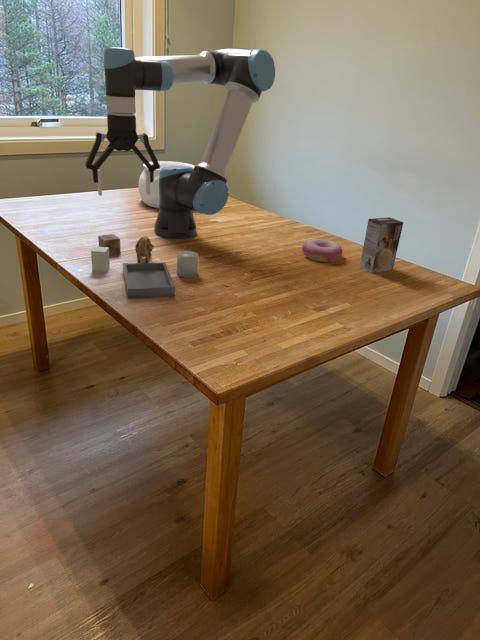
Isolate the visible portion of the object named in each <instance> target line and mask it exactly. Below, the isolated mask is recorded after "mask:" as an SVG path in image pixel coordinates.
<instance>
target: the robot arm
mask: <svg viewBox="0 0 480 640" xmlns="http://www.w3.org/2000/svg"><path fill="white" fill-rule="evenodd" d="M103 54H104V56H103V61H104V62H103V69H104V81H105V85H104V86H105V95H106V96H105V99H106V112H107V115H106V121H107V123H106V124H107V133H103V132H100V131H96V132H95V140H94V143H93V145H92V148H91V150H90V153H89V155H88V157H87V159H86V161H85V164H84V165H85V168H86V169H88V170H91V171H92V180H93V183H95V184H97V194H98V196H103V192H102V191H103V189H102V176H101V175H102V173H101V170H100V168H101V167H102V165H103V163H105V161H107V159H108V158H109V156H110V155H111V154H112V153H113V152H114V150H115V151H118V152H121V151H124V152H130V151H131V150H132V152H134V153H135V155H136V156H137V157H138V158H139V159H140V160H141V162H142V163H143V164H145V165H146V167H147V168H148V170H146V193H147V195H150V182H153V181H154V170H156V169H159V168H160V165H159V163H158V161H159V160H158V159H157V157H156V155H155V153H154V151H153V148H152V146H151V144H150V142H149V135H148V134H146V133H145V132H144V133H142V134H138V132H137V116H136V115H134V114H136V112H137V110H136V109H137V107H136V105H137V104H136V91H153V92H154V91H156V92H164V91H165V92H166V91H168V90H170V89H171V88H172V87H173V84H181V83H195V82H200V83H202V84H204V85H210V84H211V85H219V86H223V87H226V91H227V93H226V96H225V99H224V101H223V104H222V107H221V109H220V112H219V114H218V117H217V119H216V123H215V125H214V127H213V130H212V132H211V136H210V138H209V140H208V143H207V146H206V148H205V151H204V153H203V156H202V159H201V160H200V162H199V163H198V164H195V165H194V169H193V167H190V166H172V167H164V168H162V169H161V170H160V174H159V208H158V213H157V216H156V219H155V223H154V226H153V227H154V233H155V234H156V235H158V236H161V237H165V238H170V239H185V238H191V237H193V236H194V237H195V235H196V234H197V225H196V221H195V220H196V219H195V217H194V214H193V211H194V212H197V213H199V214H200V215H207V216H211V215H215V214H217V213H220V212H221V211H222V210H223V208H224V207H225V206H226V204H227V202H228V200H229V194H230V193H229V188H228V186H227V182H228V178H227V175H226V172H227V169H228V167H229V164H230V162H231V159H232V156H233V154H234V151H235V149H236V146H237V145H238V140H239V138H240V136H241V134H242V131H243V128H244V126H245V123H246V120H247V118H248V115H249V113H250V110H251V108H252V104H254V103H257V102H258V101H259V99H260V97H261V95H262V92H265V91H268V90H269V89H271V88H272V87H273V86H274V85H273V84H274V82H275V78H276V66H275V61H274V59H273V56H272V55H271V53H270V52H269V51H268V50H267V49H266V50H265V49H262V48H257V47H253V48H248V47H246V48H245V47H226V48H219V49H213V50H202V51H201V52H200V53H198V54H189V55H188V54H185V55H183V54H182V55H160V56H159V55H158V56H155V55H153V56H152V55H151V56H137V57H136V56H135V51H134V50H133V49H132V48H125V47H114V46H109V47H106V48H104V52H103ZM105 139H107V141H108V143H109V144H108V145H107V146H106V148H105V150H104V151H103V152H102V153H101V154H100V156H99V157H98V158H97V159H96V160H95V158H96V157H97V154H98V151H99V149H100V148H101V143H102V142H104V141H105ZM138 141H140V142H141V143H142V144H143V146H144V148H145V150H146V152H147V153H148V156H149V158H150V161H151V162H153V165H151V164H150V163H149V162H150V161H148V160H147V158H146V157H145V155H143V154H142V152H141V151H140V149H139V148H138V147H137V146H136V143H137V142H138ZM94 160H95V162H94ZM93 163H94V164H93Z"/></svg>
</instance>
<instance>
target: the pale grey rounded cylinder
mask: <svg viewBox="0 0 480 640" xmlns="http://www.w3.org/2000/svg"><path fill="white" fill-rule="evenodd" d="M198 270H199V253H197V252H195V251H191V250H182V251H178V252H177V255H176V276H178V277H180V278H184V279H192V278H196V277H198V275H199V274H198Z"/></svg>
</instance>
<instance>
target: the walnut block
mask: <svg viewBox="0 0 480 640" xmlns="http://www.w3.org/2000/svg"><path fill="white" fill-rule="evenodd" d="M97 238H98V247H109V256H114V255H120V254H121V253H122V252H121V238H120V237H118V236H117V235H116V234H114V233H111V234H103V235H97Z"/></svg>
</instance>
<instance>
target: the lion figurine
mask: <svg viewBox="0 0 480 640" xmlns="http://www.w3.org/2000/svg"><path fill="white" fill-rule="evenodd" d="M154 248H155V245H154V244H152V243H151V240H150V238H149V237H148V236H146V235H143V236H141V237H140V238H139V239H138V240H137V242H136V243H135V253H136V260H137V262H136V263H142V262H141V258H142V257H143V258H144V259H145V260H144V263H150V262H149V256H152V253H153V249H154Z"/></svg>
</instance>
